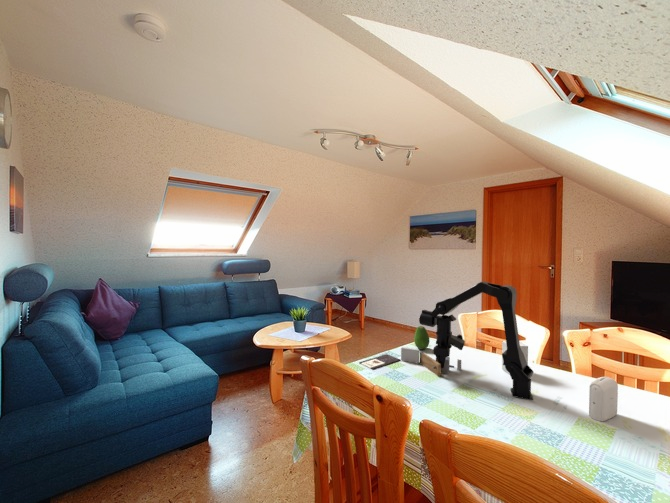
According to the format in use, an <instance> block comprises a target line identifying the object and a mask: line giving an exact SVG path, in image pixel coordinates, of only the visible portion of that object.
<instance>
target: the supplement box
mask: <svg viewBox="0 0 670 503" xmlns="http://www.w3.org/2000/svg"><path fill="white" fill-rule="evenodd" d="M519 343H520V348H521V350H522V352H523V354H524V356H525V359H526V362H527V365H528V366H529V362H528V361H529V345H526V344H525V343H523V342H521V341H519ZM501 344H502V345H501V346H502V347H501V350H502V351H501V353H502V354H503V353H504V352H505V351H506V350H507V344H506V340H503V341H502V343H501ZM502 354H501V355H502ZM501 357H502V356H501ZM501 369H502V370H503V371H504V372H505V373H507V374H508V375H510V373H509V372H508V371H507V370H506V368H505V365H503V357H502V358H501Z"/></svg>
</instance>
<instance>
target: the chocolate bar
mask: <svg viewBox="0 0 670 503" xmlns="http://www.w3.org/2000/svg"><path fill="white" fill-rule="evenodd" d="M398 362H401V358H397V357H394V356H393V355H390V354H387V353H386V354H382V355H378V356H376V357H373V358H370V359H366V360H363V361H359V364H360V365H362V366H363V367H367V369H368V368H369V369H370V370H372V371H374V370H377V369H380V368H383V367H386V366H389V365H391V364H395V363H398Z"/></svg>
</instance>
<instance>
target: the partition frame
mask: <svg viewBox="0 0 670 503" xmlns="http://www.w3.org/2000/svg"><path fill="white" fill-rule="evenodd" d="M400 350H401V351H400V354H401V355H400V361H401V360H402V362H407V361H409V363H413V362H415V364H420V349H419V348H413V347H405V346H402V347H401V348H400ZM456 362H457V364H456V366H457V367H456V369H457V371H462V359H457V361H456ZM449 368H455V365H451V364H449Z"/></svg>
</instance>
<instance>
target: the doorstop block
mask: <svg viewBox="0 0 670 503" xmlns="http://www.w3.org/2000/svg"><path fill="white" fill-rule="evenodd" d="M450 360H451V359H450V356H449V357H446V359H445V363H444V368H441V373H442V374H445V373H446V374H447V375H448V374H449V372H450V367H449V365H451V364H450ZM435 361H437V362H438V360H437V358H436V357H435ZM438 363H439V362H438ZM446 374H445V375H446Z"/></svg>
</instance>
